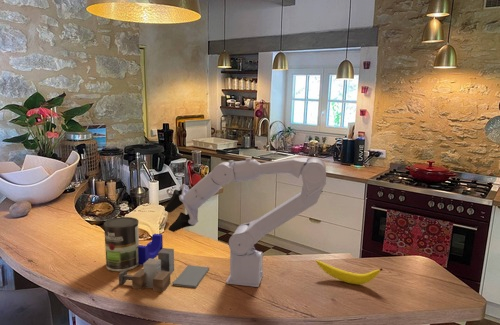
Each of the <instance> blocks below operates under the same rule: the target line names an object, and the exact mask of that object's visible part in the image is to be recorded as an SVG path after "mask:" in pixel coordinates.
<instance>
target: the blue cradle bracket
mask: <svg viewBox="0 0 500 325" xmlns="http://www.w3.org/2000/svg"><path fill="white" fill-rule="evenodd" d="M151 237H152V238H151V241H149V242H148V243H147V244H146V245H144V244H141V245H140V244H139V246H138V257H139V265H138V266H143V264H144V263H145V262H146V261H147V260H148V259H149V258H150V259H156V257H158V252H159V251H160V250H161V249H163V248H164V246H163V245H164V244H163V234H161V233H153V234H152V236H151Z"/></svg>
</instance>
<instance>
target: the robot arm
mask: <svg viewBox="0 0 500 325" xmlns="http://www.w3.org/2000/svg"><path fill="white" fill-rule="evenodd" d="M276 174H277V175H279V174H291V175H292V176H294V177H296V178H297V179H300V175H301V179H302V187H301V191H300V192H298V193H297V194H295V195H293V196H292V197H290V198H289V199H287V200H286V201H284V202H282V203H281V204H279V205H278V206H276V207H274V208H273V209H271V210H270V211H268V212H267V213H265V214H263V215H262V216H260V217H258V218H257V219H254V220H251V221H249V222H245V223H241V224H239V225H238V226H237V227H236V228H235V231H234V232H233V234H232V235H231V236H230V237H229V240H228V248H229V250H230V252H229V255H230V257H229V258H230V261H229V262H230V267H229V270H230V271H229V273H230V274H229V275H228V278H227V279H226V280H225V283H226V284H227V285H229V284H230V285H235V286H247V287H253V288H254V287H255V288H258V287H259V286H260V284H261V281H262V278H263V275H264V272H263V269H264V268H263V267H264V255H263V251H259V250H257V249H256V247H255V245H256V244H257V243H258V242H259V241H260V240H261V239H262V238H263V237H264V236H266V235H267V234H269V233H271V232H272V231H274V230H276V229H277V228H279V227H281V226H283V225H284V224H285V223H287V222H289V221H290V220H292V219H293V218H295V217H297V216H298V215H300V214H302V213H304V212H305V211H307V210H309V208H311V207H313V206H314V205H316V204H317V203H318V202H319V201H318V200H319V198H320V197H321V195H322V192H323V189H324V188H325V186H326V184H327V183H326V182H327V167H326V164H325V162H324V160H322V159H321V158H319V157H316V156H314V157H310V158H309V157H294V158H287V159H279V160H272V161H267V162H260V161H258V160H256V159H255V158H254V159H252V157H246V158H245V160H239V161H234V159H233V160H228V161H222V162H220V163H219V164H217V165H216V166H214V167H213V169H212V170H211V171H210V172H208V174H207V175H205V176H204V177H202V178H201V179H200V180H199V181H198V182H197V183H196V184H195V185H193V186H192V187H191V188H190V187H189V185H187V184H185V183H183V184H180V185H181V186H179V189H174V190H173V193H172V195H171V198H170V200H169V201H168V203H167V205H166V206H165V208H164V211H165V212H167V213H172V212H174V211H175V210H176V209H177V208H179V207H180V206H182V205H183V206H184V208H185V209H186V213H187V214H186V213H184V212H179V215H178V217H177V218H176V219H175V221H174V222H173V223H171V225H170V226H168V231H170V232H172V233H175V232H177V231H180V230H181V229H184V228H185V229H186V228H189V227H194V226H196V224H197V223H198V222H199V220H198V215H199V214H198V213H199V209H200V208H201V206H203V204H206V202H208V201H209V200H210V199H211V198H212V197H213V196H215V195H216V194H217V193H218V192H219V191H220V190H221V188H222V187H224V186H228V185H229V184H230V183H231V182H234V183H239V182H240V183H241V182H248V181H257V180H258V179H259V178H260V177H261V176H263V175H276Z"/></svg>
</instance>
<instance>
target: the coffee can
mask: <svg viewBox="0 0 500 325" xmlns="http://www.w3.org/2000/svg"><path fill="white" fill-rule="evenodd" d="M139 221H140V220H139V219H138V218H135V217H130V216H121V217H120V216H119V217H114V218H111V219H108V220H106V221H104V222H103V227H104V231H103V232H104V245H105V247H104V248H105V263H106V264H105V268H106V269H107V270H108V271H112V272H122V271H123V270H124V269H125V270H127V271H131V270H133V269H135V268H137V267H138V266H140V265H139V257H138V246H139V245H140V238H139Z"/></svg>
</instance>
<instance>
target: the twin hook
mask: <svg viewBox="0 0 500 325" xmlns="http://www.w3.org/2000/svg"><path fill="white" fill-rule="evenodd" d="M142 266H143V269H144V288H147V289H153V278H154V277H155V276H156V275H157V274H158V273H159V272H160V271H161V260H160V259H158V258H154V259H150V258H149V259H148V260H147V261H146V262H145V263H144V264H143V265H142Z"/></svg>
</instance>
